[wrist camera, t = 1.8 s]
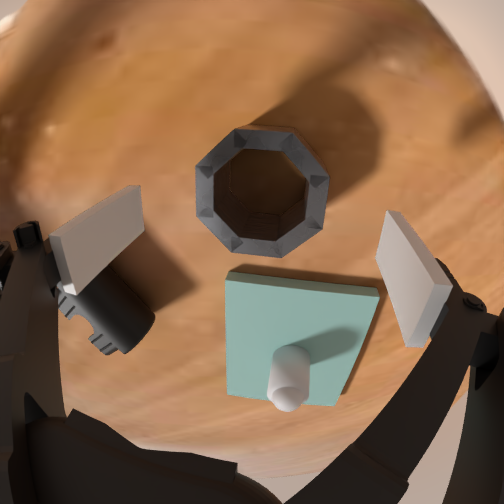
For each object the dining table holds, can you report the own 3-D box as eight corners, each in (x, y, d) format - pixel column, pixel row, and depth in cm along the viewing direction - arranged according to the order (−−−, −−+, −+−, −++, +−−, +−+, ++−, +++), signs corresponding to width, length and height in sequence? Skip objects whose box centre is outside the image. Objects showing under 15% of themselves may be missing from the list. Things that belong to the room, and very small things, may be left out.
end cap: (166, 303, 31) (140, 346, 25) (133, 326, 34) (108, 364, 28) (103, 236, 28) (64, 268, 22) (78, 268, 31) (44, 299, 25)
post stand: (229, 385, 36) (215, 436, 29) (228, 271, 27) (204, 330, 20) (334, 397, 34) (334, 449, 27) (376, 287, 26) (395, 349, 19)
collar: (215, 222, 25) (197, 248, 21) (216, 123, 21) (195, 128, 17) (314, 232, 24) (317, 262, 20) (326, 131, 20) (334, 137, 16)
